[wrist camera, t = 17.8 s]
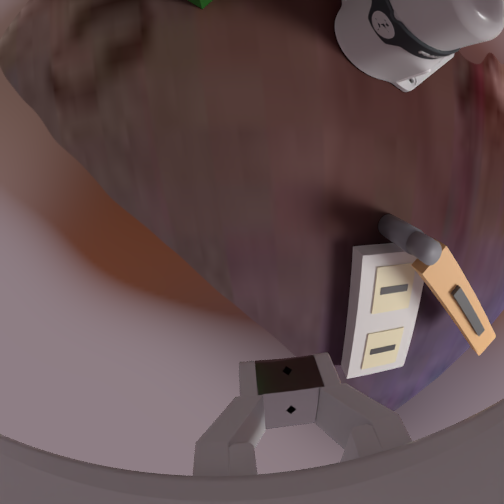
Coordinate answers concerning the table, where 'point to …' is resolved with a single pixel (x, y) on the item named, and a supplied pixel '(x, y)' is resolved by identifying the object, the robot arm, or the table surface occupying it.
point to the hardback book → (200, 3)
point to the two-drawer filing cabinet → (381, 302)
